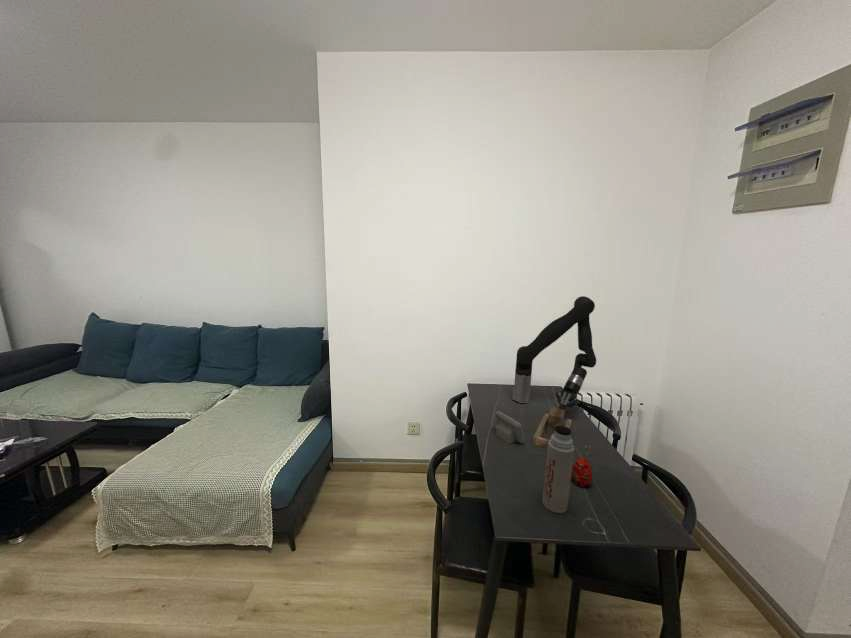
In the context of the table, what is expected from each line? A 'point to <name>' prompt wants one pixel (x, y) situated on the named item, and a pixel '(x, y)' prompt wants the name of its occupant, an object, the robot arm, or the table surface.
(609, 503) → the table surface
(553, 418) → the block
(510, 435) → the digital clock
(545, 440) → the chute
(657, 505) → the table surface
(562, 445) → the thermos bottle
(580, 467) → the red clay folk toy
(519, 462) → the table surface
